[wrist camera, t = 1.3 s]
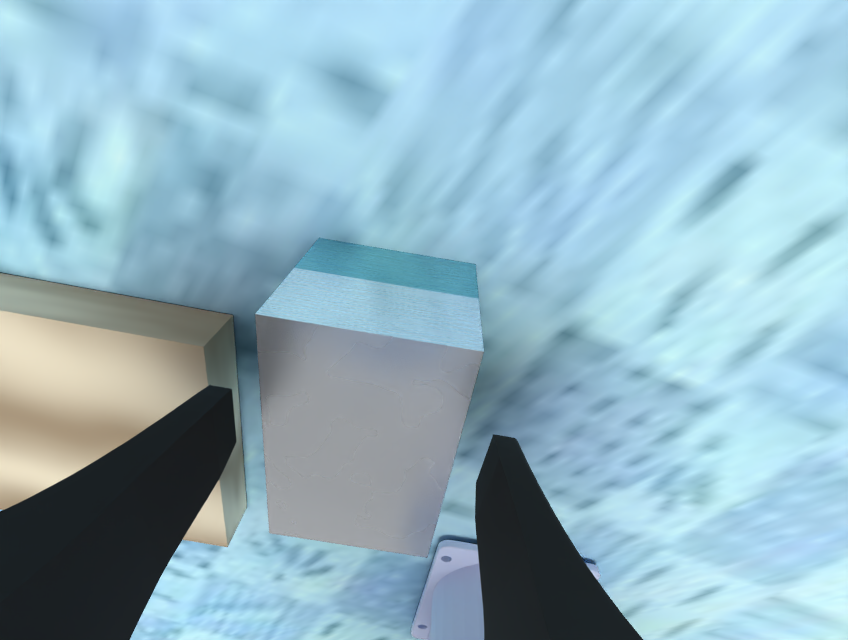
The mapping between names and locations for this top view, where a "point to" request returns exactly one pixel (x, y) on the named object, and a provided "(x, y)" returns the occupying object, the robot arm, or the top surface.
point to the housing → (365, 393)
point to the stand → (105, 385)
